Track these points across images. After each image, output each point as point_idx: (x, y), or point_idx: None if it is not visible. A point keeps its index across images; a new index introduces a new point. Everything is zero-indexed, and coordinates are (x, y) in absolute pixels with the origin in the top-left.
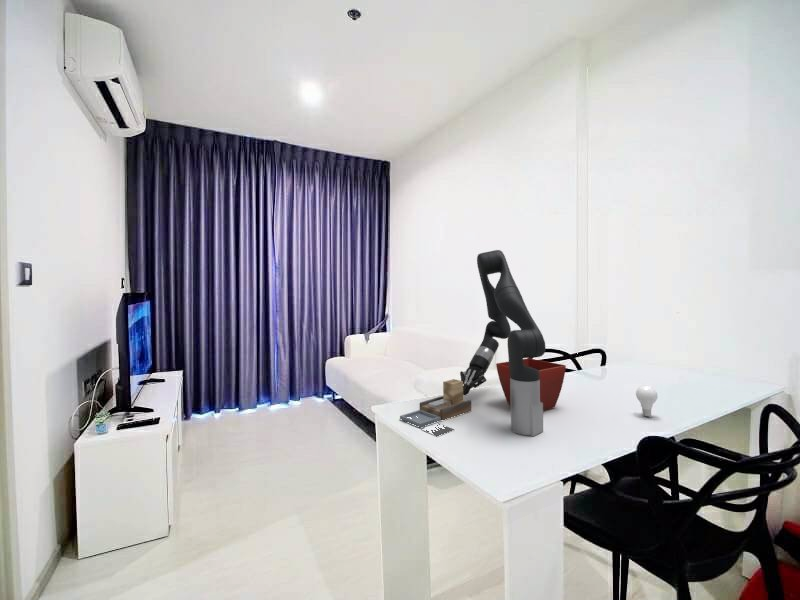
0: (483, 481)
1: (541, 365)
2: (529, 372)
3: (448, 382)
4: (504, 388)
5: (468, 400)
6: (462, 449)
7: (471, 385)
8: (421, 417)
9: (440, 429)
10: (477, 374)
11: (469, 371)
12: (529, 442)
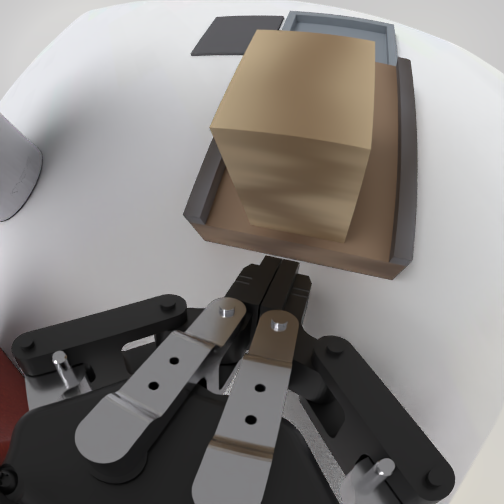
0: (102, 11)
1: None
2: None
3: (319, 42)
4: (14, 424)
5: (200, 207)
6: (143, 24)
7: (192, 310)
8: None
9: (228, 34)
10: (84, 408)
11: (230, 467)
12: (21, 129)
